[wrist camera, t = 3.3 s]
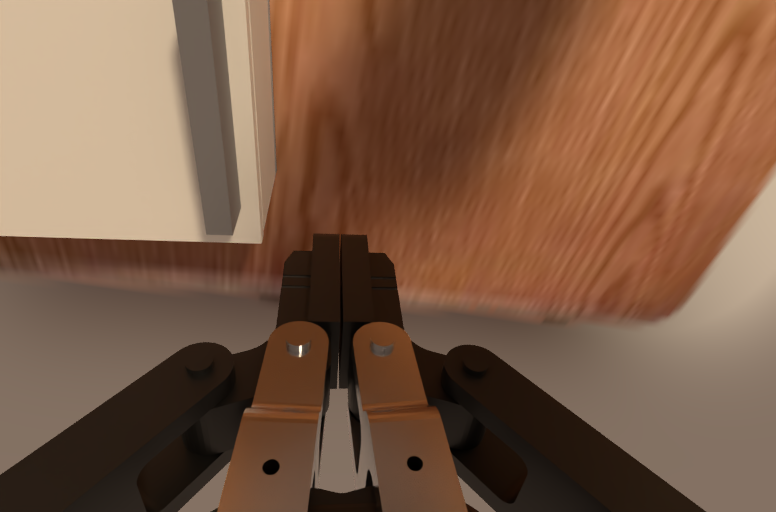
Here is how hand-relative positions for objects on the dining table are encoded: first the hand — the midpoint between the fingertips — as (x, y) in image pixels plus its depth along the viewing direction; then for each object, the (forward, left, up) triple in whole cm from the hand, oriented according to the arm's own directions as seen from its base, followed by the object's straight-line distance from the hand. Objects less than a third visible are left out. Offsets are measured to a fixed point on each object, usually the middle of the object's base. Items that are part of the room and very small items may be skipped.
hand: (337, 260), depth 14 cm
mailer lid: (+14, 0, -12) cm, 18 cm away
